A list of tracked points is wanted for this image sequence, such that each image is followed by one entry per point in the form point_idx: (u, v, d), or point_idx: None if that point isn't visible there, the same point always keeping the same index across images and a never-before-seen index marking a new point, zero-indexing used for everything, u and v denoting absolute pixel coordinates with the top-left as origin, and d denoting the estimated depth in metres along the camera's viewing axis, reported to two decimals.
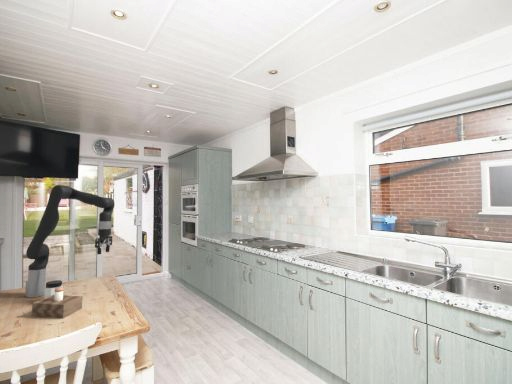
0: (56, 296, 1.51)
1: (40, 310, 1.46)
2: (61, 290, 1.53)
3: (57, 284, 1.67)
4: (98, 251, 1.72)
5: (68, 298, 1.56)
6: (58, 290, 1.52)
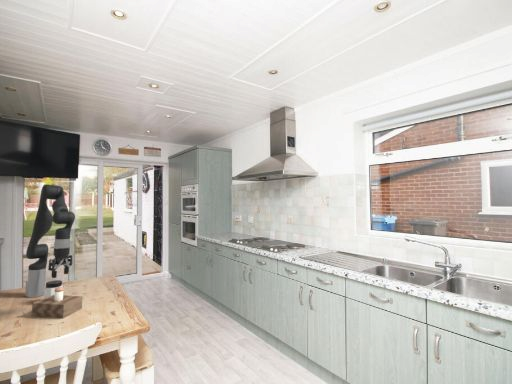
0: (56, 296, 1.51)
1: (40, 310, 1.46)
2: (61, 290, 1.53)
3: (57, 284, 1.67)
4: (53, 274, 1.49)
5: (68, 298, 1.56)
6: (58, 290, 1.52)
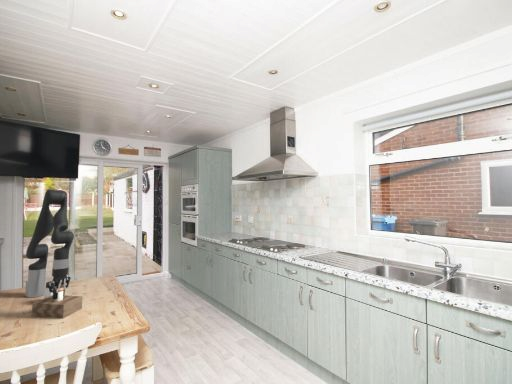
0: None
1: (40, 310, 1.46)
2: (61, 290, 1.53)
3: None
4: (54, 296, 1.50)
5: (68, 298, 1.56)
6: (58, 290, 1.52)
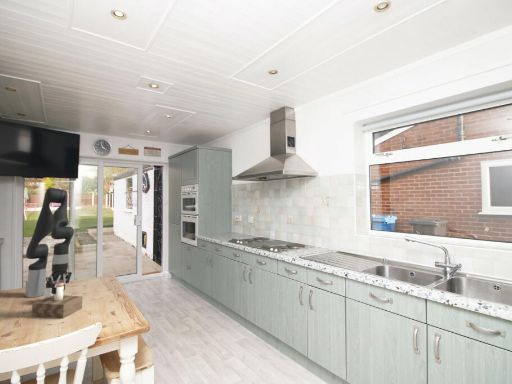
0: (56, 291, 1.51)
1: (40, 310, 1.46)
2: (61, 285, 1.53)
3: None
4: (52, 291, 1.50)
5: (68, 298, 1.56)
6: (58, 285, 1.52)
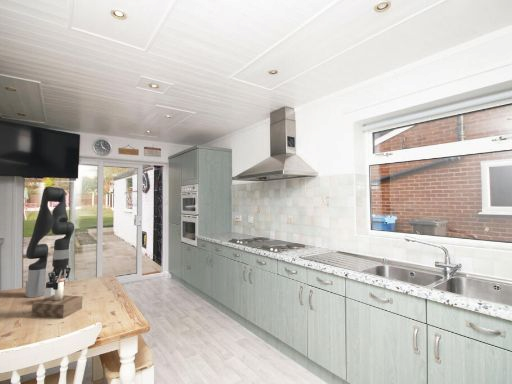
0: None
1: (40, 310, 1.46)
2: (62, 281, 1.53)
3: None
4: (54, 286, 1.50)
5: (68, 298, 1.56)
6: (59, 281, 1.52)
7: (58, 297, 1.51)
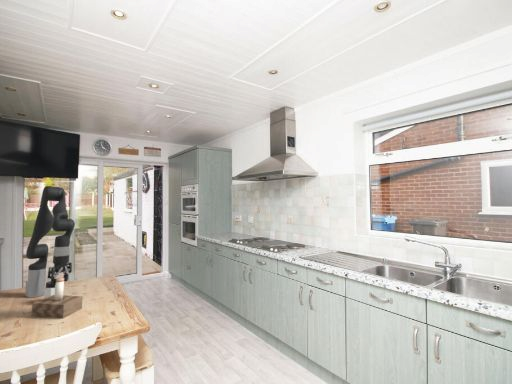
0: (57, 286, 1.51)
1: (40, 310, 1.46)
2: (62, 280, 1.53)
3: None
4: (52, 282, 1.48)
5: (68, 298, 1.56)
6: (59, 280, 1.52)
7: (58, 297, 1.51)
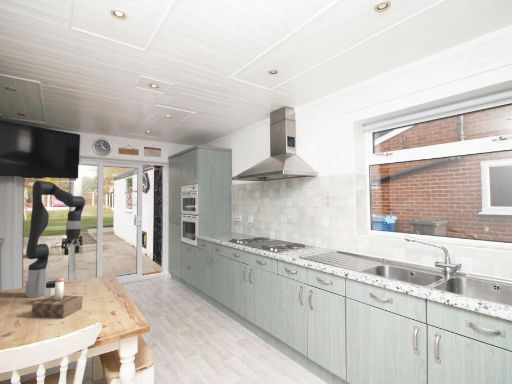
0: (57, 286, 1.51)
1: (40, 310, 1.46)
2: (62, 280, 1.53)
3: None
4: (65, 252, 1.65)
5: (68, 298, 1.56)
6: (59, 280, 1.52)
7: (58, 297, 1.51)
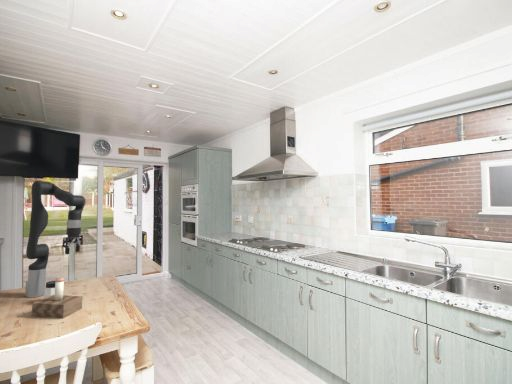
0: (57, 286, 1.51)
1: (40, 310, 1.46)
2: (62, 280, 1.53)
3: None
4: (66, 251, 1.66)
5: (68, 298, 1.56)
6: (59, 280, 1.52)
7: (58, 297, 1.51)
